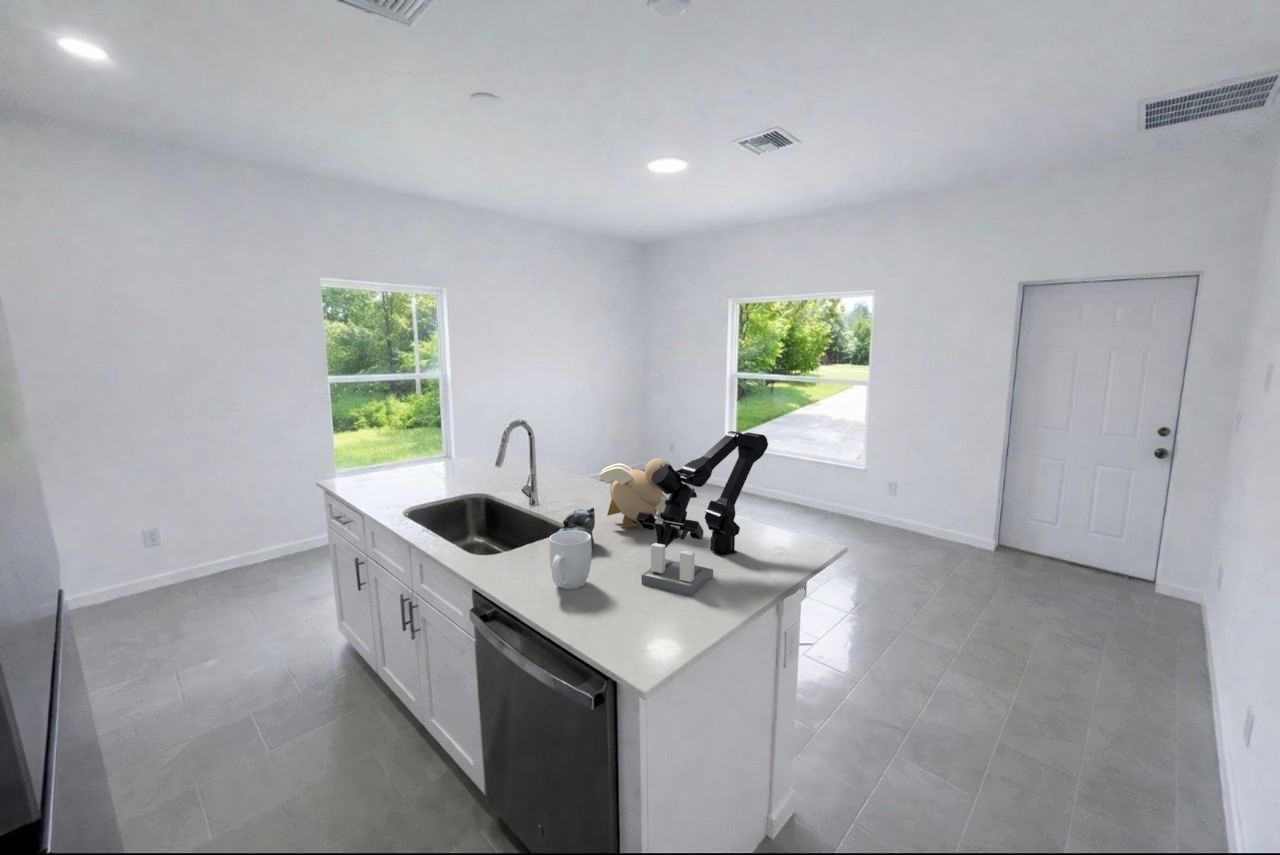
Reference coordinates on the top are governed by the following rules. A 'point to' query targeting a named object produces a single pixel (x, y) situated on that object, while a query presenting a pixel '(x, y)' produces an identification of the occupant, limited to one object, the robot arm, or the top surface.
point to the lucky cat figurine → (580, 522)
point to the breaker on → (687, 566)
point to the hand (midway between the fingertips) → (658, 552)
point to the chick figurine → (634, 491)
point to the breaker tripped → (658, 558)
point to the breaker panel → (677, 579)
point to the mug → (570, 558)
